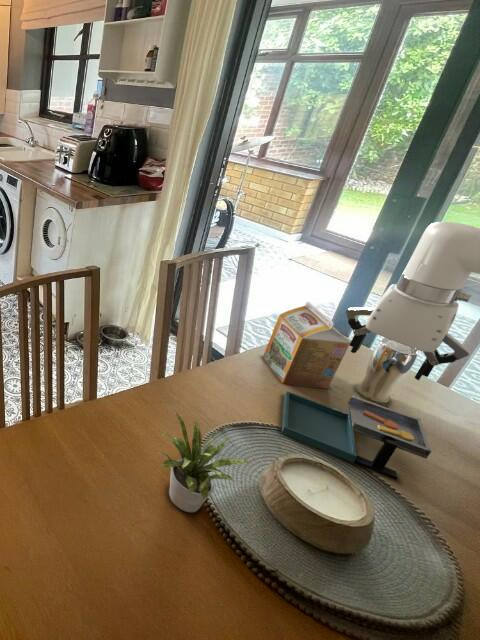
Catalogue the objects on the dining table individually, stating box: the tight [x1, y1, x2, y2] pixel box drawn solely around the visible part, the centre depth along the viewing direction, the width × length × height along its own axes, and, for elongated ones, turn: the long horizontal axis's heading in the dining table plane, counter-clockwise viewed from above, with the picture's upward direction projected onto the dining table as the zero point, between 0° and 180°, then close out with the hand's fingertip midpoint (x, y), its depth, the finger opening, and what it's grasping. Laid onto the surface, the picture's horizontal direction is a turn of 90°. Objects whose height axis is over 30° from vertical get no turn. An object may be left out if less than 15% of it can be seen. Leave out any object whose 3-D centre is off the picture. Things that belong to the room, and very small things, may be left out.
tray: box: [281, 390, 358, 464], centre depth 92 cm, size 12×14×2 cm
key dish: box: [347, 395, 432, 460], centre depth 85 cm, size 11×10×2 cm
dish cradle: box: [355, 402, 399, 481], centre depth 86 cm, size 6×14×8 cm, turn 143°
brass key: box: [377, 425, 414, 441], centre depth 83 cm, size 5×2×1 cm, turn 63°
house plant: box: [155, 408, 251, 513], centre depth 74 cm, size 14×14×16 cm
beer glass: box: [356, 337, 420, 404], centre depth 99 cm, size 7×7×15 cm
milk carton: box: [262, 301, 351, 389], centre depth 106 cm, size 11×11×19 cm
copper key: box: [363, 410, 399, 429], centre depth 86 cm, size 5×2×1 cm, turn 38°
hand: (385, 363), depth 82 cm, fingers open, 9 cm apart
